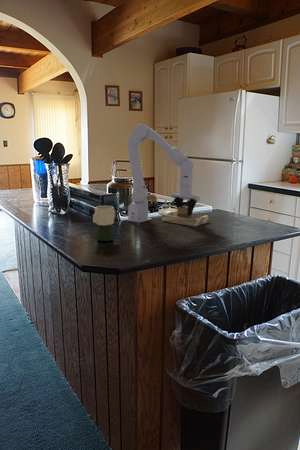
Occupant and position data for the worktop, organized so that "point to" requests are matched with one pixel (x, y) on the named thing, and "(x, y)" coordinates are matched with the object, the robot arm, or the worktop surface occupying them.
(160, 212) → the ceramic plate
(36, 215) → the worktop surface
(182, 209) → the walnut block
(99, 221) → the character mug
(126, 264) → the worktop surface
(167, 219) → the wooden u-shaped frame
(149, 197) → the lion figurine
